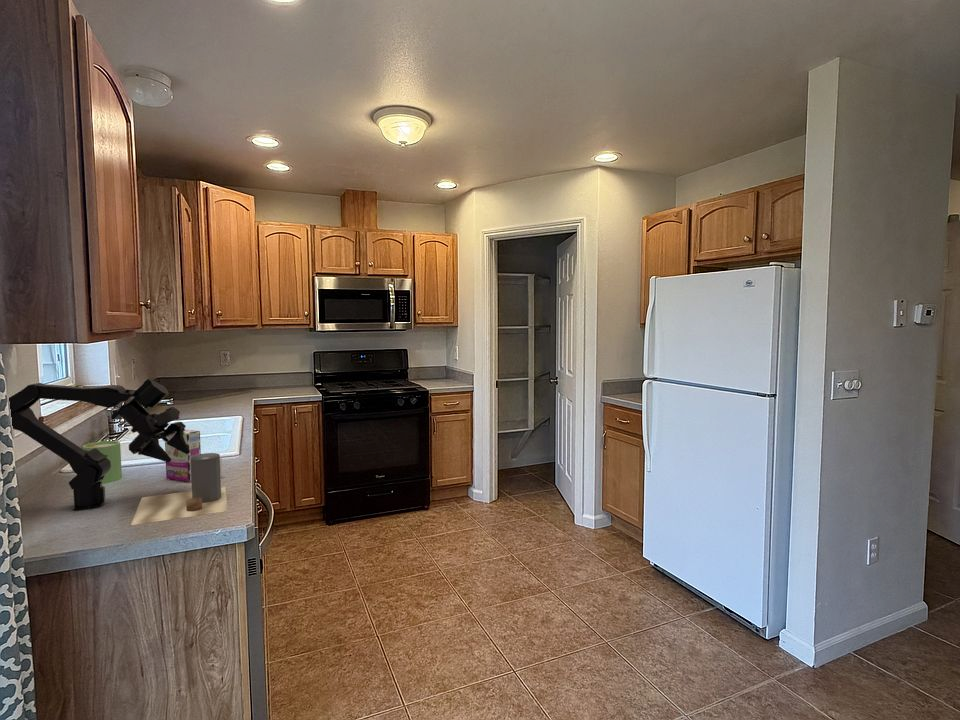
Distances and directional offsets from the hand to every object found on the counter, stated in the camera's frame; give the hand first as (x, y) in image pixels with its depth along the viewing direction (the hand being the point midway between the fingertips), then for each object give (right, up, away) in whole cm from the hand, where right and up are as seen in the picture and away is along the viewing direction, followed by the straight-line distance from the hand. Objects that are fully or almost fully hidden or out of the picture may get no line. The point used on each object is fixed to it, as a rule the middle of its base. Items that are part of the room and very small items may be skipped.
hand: (179, 457), depth 153 cm
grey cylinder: (+8, -12, +1) cm, 14 cm away
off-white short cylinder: (-2, -12, +23) cm, 26 cm away
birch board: (+3, -13, -4) cm, 14 cm away
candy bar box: (-12, -12, +23) cm, 29 cm away
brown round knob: (+8, -13, -8) cm, 17 cm away
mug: (-39, -12, +22) cm, 46 cm away
